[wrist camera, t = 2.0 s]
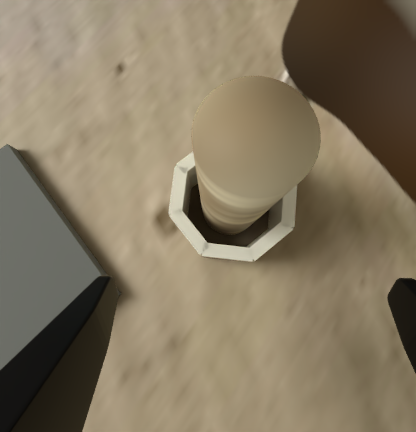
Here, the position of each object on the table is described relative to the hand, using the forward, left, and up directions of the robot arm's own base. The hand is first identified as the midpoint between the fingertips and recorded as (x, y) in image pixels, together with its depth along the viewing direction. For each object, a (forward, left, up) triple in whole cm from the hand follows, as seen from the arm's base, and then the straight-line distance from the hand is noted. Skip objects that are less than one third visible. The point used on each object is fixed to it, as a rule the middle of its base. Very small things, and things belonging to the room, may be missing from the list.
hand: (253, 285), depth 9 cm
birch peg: (+4, -3, -11) cm, 12 cm away
